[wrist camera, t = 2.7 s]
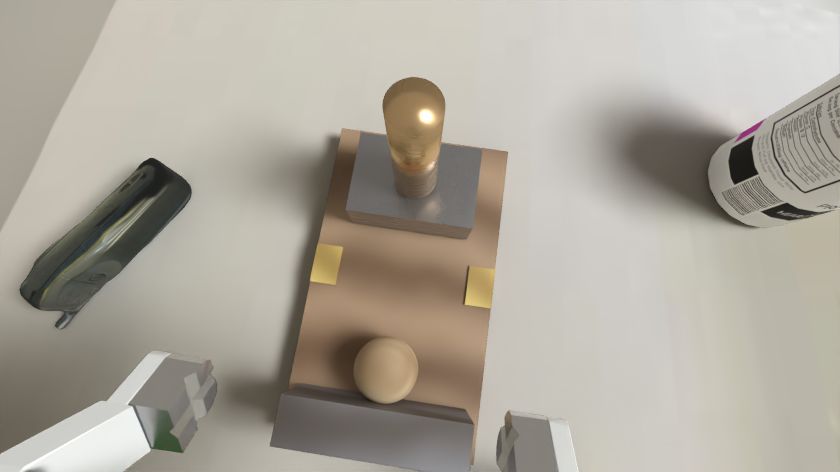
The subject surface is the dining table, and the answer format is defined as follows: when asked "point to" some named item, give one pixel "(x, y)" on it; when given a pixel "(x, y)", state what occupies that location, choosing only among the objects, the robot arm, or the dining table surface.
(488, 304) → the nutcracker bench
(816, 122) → the supplement can
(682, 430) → the dining table surface
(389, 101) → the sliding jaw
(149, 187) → the mobile phone
